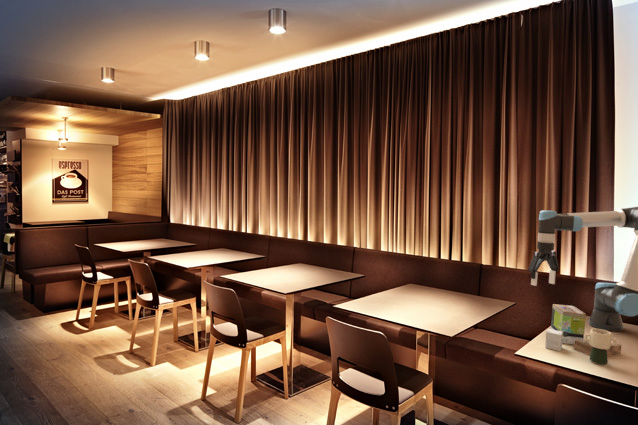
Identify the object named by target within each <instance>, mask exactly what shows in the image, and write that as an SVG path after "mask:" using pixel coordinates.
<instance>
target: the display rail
mask: <svg viewBox="0 0 638 425" xmlns="http://www.w3.org/2000/svg"><path fill="white" fill-rule="evenodd" d="M573 345H574V346H573V347H574V348H573V350H574V351H576V352H579V353H582V354H584V355H587V356H589V357H590V354H591V350H592V348H593V346H591V345H590V343H585V342H584V341H583V342H580V341H577V340H576V341H575V344H573ZM622 346H623V345H622V344H619V343H616V346H610V348H609V349H606V350H607V356H608V357H610V356H612V357H613V356H618V355H621V354H622Z"/></svg>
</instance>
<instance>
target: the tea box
mask: <svg viewBox="0 0 638 425" xmlns="http://www.w3.org/2000/svg"><path fill="white" fill-rule="evenodd" d="M551 308H552V309H551V321H550V329H552V330H557V331H563V338H562V344H568V345H575V341H576V340H577V341H580V342H583V343H584V342H585V340H584V337H585V328H586V317H587V314H586V313H585V312H584V311H582V310H580V309H579V308H577V306H574V305H568V304H566V305H565V304H555V303H553V304H552V307H551Z"/></svg>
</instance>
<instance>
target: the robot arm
mask: <svg viewBox="0 0 638 425" xmlns="http://www.w3.org/2000/svg"><path fill="white" fill-rule="evenodd" d="M615 226H616V227H617V228H629V229H633V232H634V234H635V237H634V241H633V244H632V246H631V250H630V252H629V255H628V258H627V262H626V264H625V267H624V270H623V273H622V276H621V279H620V281H618V282H616V283H614V282H613V283H612V282H596V284H595V287H594V298H593V299H594V300H593V301H594V302H593V310H592V312H591V315H590V317H589V319H588V325H589V326H590V327H593V328H595V329H602V330H606V331H609V332H610V331H611V332H621V331H623V330H624V324H623V319H622V317H621V316H622V315H623V316H626V317H635V316H638V206H633V207H626V208H624V207H623V208H617V209H616V210H611V211H592V212H591V211H590V212H587V211H586V212H571V213H568V212H567V213H557V211H556V210H545V209H544V210H543V209H542V210H540V211H539V214H538V229H537V230H538V231H537V242H536V249H537V250H538V251H534V252H533V256H532V259H531V261H530V263H529V266H528V270H527V271H529V272H530V273H531V274H530V279H531V280H530V285H531V286H534V287H537V286H538V274H539V272H538V270H539V269H540V267H541V266H542V263H544V262H547V265H548V266H549V269H550V270H549V274H548V275H549V276H548V284H550V285H551V284H552V285H555V284H556V275H557V274H556V273H557V272H558V271H559V270H560V266H559V261H558V258H557V251H555V243H554V242H556V240H555V239H556V231H563V232H564V231H565V232H579V231H581V230H582V229H583V228H594V227H595V228H596V227H615Z"/></svg>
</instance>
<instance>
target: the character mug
mask: <svg viewBox="0 0 638 425" xmlns="http://www.w3.org/2000/svg"><path fill="white" fill-rule="evenodd" d="M588 337H589V339H588ZM612 341H613V343H612ZM617 341H618V340H617V338H616V337H612V332H610V330H604V329H599V328H591V329H590V332H588V333H586V332H584V342H588V343H589V345H591V346H593V348H592V350H591V354H590V356H589V360H590V361H591V362H592V363H595V364H598V365H607V364H608V363H609V361H608V360H609V359H608V357H609V356H607V350H606V349H609V348H610V346H616V344H617Z"/></svg>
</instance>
